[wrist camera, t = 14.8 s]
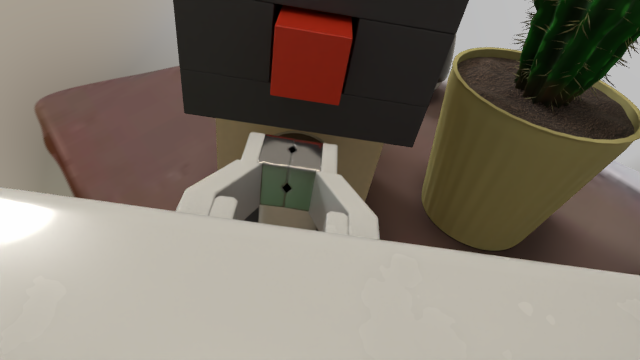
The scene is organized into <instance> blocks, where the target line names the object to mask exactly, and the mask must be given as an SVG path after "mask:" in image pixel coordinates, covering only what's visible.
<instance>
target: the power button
mask: <svg viewBox="0 0 640 360" xmlns="http://www.w3.org/2000/svg"><path fill="white" fill-rule="evenodd" d="M352 40H353V36H352V17H351V16H345V15H339V14H333V13H327V12H322V11H316V10H310V9H304V8H298V7H292V6H286V5H282V8H281V11H280V13H279V16H278V19H277V21H276V24H275V30H274V44H273V59H272V73H271V87H270V95H273V96H280V97H286V98H293V99H299V100H306V101H312V102H319V103H325V104H331V105H339V102H340V98H341V93H342V88H343V83H344V78H345V73H346V69H347V64H348V59H349V54H350V49H351V45H352Z"/></svg>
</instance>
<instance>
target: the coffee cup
mask: <svg viewBox="0 0 640 360" xmlns="http://www.w3.org/2000/svg"><path fill="white" fill-rule="evenodd" d="M275 136H281V137H286V138H292V139H296V140H303V141H310V142H317V143H325V142H324V141H323V140H322V139H320V138H318V137H317V136H314V135H312V134H309V133H305V132H300V131H286V132H280V133H277V134H275ZM258 223H264V224H271V225H278V226H285V227H293V228H300V229H307V230H314V231H317V227H316V225H315V224H314V222H313V220H312V218H311V217H310V215H309V213H308V212H307V211H301V210H295V209H289V208H283V207H274V206H266V205H259V211H258Z"/></svg>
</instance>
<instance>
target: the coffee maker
mask: <svg viewBox="0 0 640 360" xmlns="http://www.w3.org/2000/svg"><path fill="white" fill-rule="evenodd" d="M468 1H469V0H173V3H174V13H175V22H176V33H177V44H178V54H179V64H180V73H181V83H182V93H183V103H184V113H186V114H193V115H199V116H206V117H213V118H216V136H217V164H218V170H220V169H221V168H223V167H225V166H226V165H228V164H230V163H232V162H233V161H235V160H241V158H242V155H243V152H244V149H245V146H246V143H247V140H248V137H249V134H250V133H251V132H257V133H263V134H269V135H275V134H277V133H280V132H286V131H300V132H305V133H309V134H312V135H314V136H317V137H318V138H320V139H322V140H323V141H324V142H325V143H328V144H336V145H337V146H338V164H337V174H339V175H342V176H343V178H344V179H345V180H346V181H347V182H348V183H349V184H350V186H351V187H352V188H353V189H354V190H355V191H356V193H357V194H358V195H359V196H360V197H361V198H362V200H363V201H364V202H365V200H366V197H367V194H368V191H369V188H370V185H371V182H372V179H373V175H374V172H375V169H376V166H377V163H378V160H379V157H380V154H381V150H382V147H383V144H384V143H386V144H393V145H399V146H406V147H413V144H414V142H415V139H416V137H417V134H418V131H419V129H420V126H421V124H422V121H423V118H424V116H425V113H426V111H427V107H428V105H429V103H430V100H431V98H432V95H433V92H434V90H435V87H436V85H437V82H438V79H439V77H440V74H441V72H442V69H443V66H444V64H445V61H446V58H447V56H448V53H449V51H450V48H451V45H452V43H453V40H454V38H455V34H456V32H457V30H458V27H459V24H460V22H461V19H462V17H463V14H464V12H465V9H466V6H467V4H468ZM282 5H286V6H292V7H298V8H304V9H310V10H316V11H322V12H327V13H333V14H339V15H345V16H351V17H352V36H353V40H352V45H351V49H350V54H349V59H348V64H347V69H346V73H345V78H344V83H343V88H342V93H341V98H340V102H339V105H331V104H325V103H319V102H312V101H306V100H299V99H293V98H286V97H280V96H273V95H270V87H271V73H272V59H273V44H274V30H275V24H276V21H277V19H278V16H279V13H280V11H281V8H282ZM258 211H259V207H258V208H257V209H256V210H255V211H253V212H252V213H251V214H250V215H249V216H248V217H247V218H246V219H245V220H244V221H249V222H257V223H258ZM317 231H318V229H317Z"/></svg>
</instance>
